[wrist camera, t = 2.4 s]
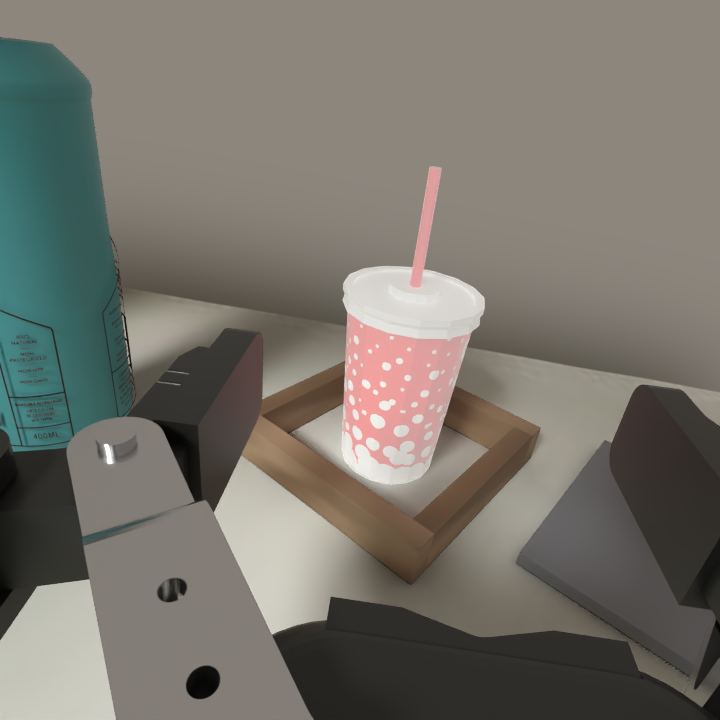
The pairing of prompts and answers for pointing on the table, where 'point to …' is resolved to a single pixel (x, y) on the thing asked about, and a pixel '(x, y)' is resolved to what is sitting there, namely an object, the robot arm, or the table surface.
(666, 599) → the rubber mat
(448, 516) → the walnut holder
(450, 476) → the table surface
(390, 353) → the beverage cup
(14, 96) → the beverage bottle
